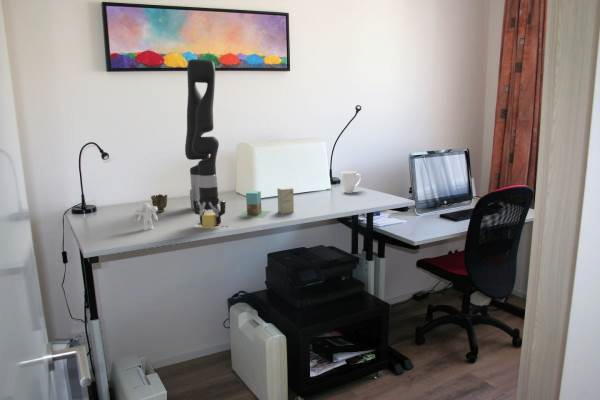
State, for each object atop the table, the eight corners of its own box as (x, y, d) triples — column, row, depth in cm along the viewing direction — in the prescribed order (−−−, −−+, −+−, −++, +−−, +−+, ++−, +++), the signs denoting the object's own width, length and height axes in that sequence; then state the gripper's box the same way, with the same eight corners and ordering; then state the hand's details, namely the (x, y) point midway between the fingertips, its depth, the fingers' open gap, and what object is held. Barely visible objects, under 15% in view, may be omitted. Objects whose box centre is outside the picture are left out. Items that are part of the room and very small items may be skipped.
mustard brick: (202, 227, 197) (201, 215, 196) (208, 224, 202) (207, 212, 201) (213, 228, 196) (212, 216, 195) (218, 224, 201) (218, 213, 199)
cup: (171, 210, 227) (170, 194, 226) (161, 214, 221) (159, 197, 219) (159, 209, 230) (158, 193, 229) (149, 213, 224) (147, 196, 222)
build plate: (237, 219, 208) (236, 216, 208) (246, 212, 220) (246, 210, 219) (262, 220, 205) (262, 217, 205) (271, 213, 217) (271, 211, 216)
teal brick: (246, 204, 209) (246, 193, 208) (250, 201, 214) (250, 190, 213) (257, 204, 208) (256, 193, 207) (260, 202, 213) (260, 191, 212)
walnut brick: (247, 215, 211) (246, 204, 209) (251, 212, 215) (250, 201, 214) (257, 215, 209) (257, 204, 208) (261, 212, 214) (261, 202, 213)
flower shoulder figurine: (159, 226, 200) (156, 198, 197) (160, 228, 196) (157, 200, 194) (136, 229, 196) (133, 201, 194) (137, 231, 193) (134, 202, 190)
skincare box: (281, 216, 212) (281, 189, 209) (277, 214, 215) (276, 188, 213) (294, 214, 214) (293, 188, 212) (290, 212, 218) (289, 186, 216)
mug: (346, 194, 254) (346, 173, 252) (338, 192, 262) (338, 171, 259) (365, 192, 259) (365, 171, 257) (357, 189, 266) (357, 169, 264)
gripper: (188, 186, 193) (191, 226, 197) (220, 187, 190) (223, 227, 193) (196, 183, 200) (199, 221, 204) (227, 184, 197) (230, 222, 200)
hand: (210, 224), depth 199 cm, fingers open, 6 cm apart
